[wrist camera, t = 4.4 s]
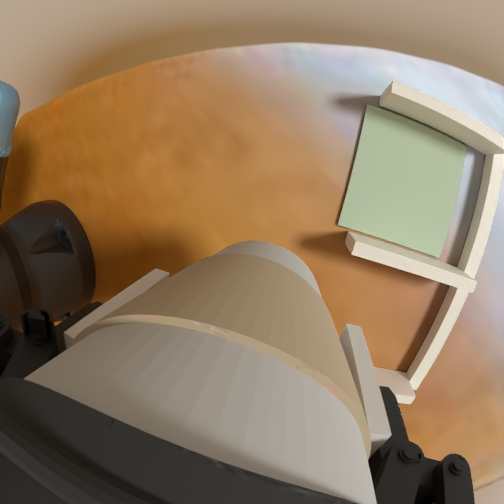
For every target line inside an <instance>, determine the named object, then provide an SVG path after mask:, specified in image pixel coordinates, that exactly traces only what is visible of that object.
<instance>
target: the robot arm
mask: <svg viewBox="0 0 504 504" xmlns="http://www.w3.org/2000/svg"><path fill="white" fill-rule="evenodd" d="M19 107H20V98H19V95H18V92H17V91H16V89H15V88H14V87H13V86H11V85H9V84H7V83H5V82H3V81H0V209H1V199H2V192H3V185H4V178H5V173H6V167H7V162H8V157H9V155H10V153H11V151H12V148H13V143H12V138H13V133H14V129H15V124H16V120H17V116H18V113H19ZM169 274H170V273H169V272H166V271H163V270H160V269H157V268H156V269H154V270H153V271H151V272H150V273H148V274H147V275H145V276H144V277H142V278H141V279H139V280H138V281H136V282H135V283H133V284H132V285H130V286H129V287H127V288H126V289H124V290H123V291H122V292H120V293H119V294H117V295H116V296H114V297H113V298H111V299H110V300H108V301H107V302H106V303H104V304H103V303H100V302H95V303H91V304H89V303H90V301H91V299H92V296H93V292H94V287H95V268H94V261H93V256H92V251H91V248H90V244H89V241H88V239H87V236H86V234H85V231H84V229H83V227H82V225H81V224H80V222H79V220H78V219H77V217H76V216H75V215H74V213H73V212H72V211H71V210H70V209H69V208H68V207H67V206H65V205H64V204H62V203H61V202H58V201H55V200H46V201H40V202H35V203H33V204H31V205H29V206H27V207H26V208H24V209H23V210H21V211H20V212H18V213H17V214H16V215H14V216H13V217H11V218H10V219H9V220H7V221H6V222H5V223H3V224H2V225H0V380H1V379H3V378H6V377H15V378H21V379H24V378H25V377H27V376H28V375H30V374H31V373H33V372H34V371H36V370H37V369H38V368H40V367H41V366H43V365H44V364H46V363H47V362H49V361H50V360H52V359H53V358H55V357H56V356H58V355H59V354H61V353H62V352H64V351H65V350H67V349H68V348H69V346H70V344H71V342H72V341H73V339H74V338H75V337H76V336H77V335H78V334H79V333H80V332H81V331H82V330H83V329H85V328H86V327H88V326H90V325H91V324H93V323H94V322H96V321H98V320H99V319H101V318H102V317H104V316H106V315H107V314H109V313H111V312H112V311H114V310H116V309H117V308H119V307H121V306H122V305H124V304H125V303H127V302H129V301H130V300H132V299H134V298H135V297H137V296H139V295H140V294H142V293H144V292H145V291H147V290H149V289H150V288H152V287H154V286H155V285H157V284H159V283H160V282H162V281H164V280H166V279H167V278H169ZM58 321H62V322H61V323H59V324H58V325H56V326H54V322H58ZM22 331H23V332H22ZM340 342H341V345H342V348H343V351H344V353H345V356H346V359H347V362H348V365H349V368H350V371H351V374H352V377H353V380H354V383H355V386H356V389H357V392H358V395H359V398H360V401H361V404H362V408H363V411H364V414H365V417H366V420H367V424H368V427H369V430H370V435H371V452H370V456H369V459H368V464H369V468H370V473H371V477H372V482H373V487H374V492H375V497H376V502H377V504H475V503H474V493H473V485H472V478H471V472H470V467H469V464H468V462H467V461H466V459H465V458H463V457H462V456H461V455H458V454H449V455H447V456H446V457H445V458H444V459H443V460H442V461H437V460H433V459H429V458H426V457H424V454H423V452H422V450H421V449H420V447H419V446H418V445H416V444H415V443H413V442H410V441H409V439H408V436H407V432H406V429H405V425H404V422H403V418H402V415H400V414H401V412H400V408H399V407H398V402H397V399H396V396H395V395H394V393H393V392H392V391H391V389H390V388H389V387H385V386H379V384H378V381H377V377H376V374H375V370H374V367H373V363H372V360H371V357H370V354H369V350H368V347H367V344H366V341H365V338H364V335H363V332H362V329H361V327H360V326H355V325H351V324H347V323H346V325H345V328H344V330H343V332H342V334H341V337H340Z"/></svg>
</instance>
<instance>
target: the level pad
mask: <svg viewBox="0 0 504 504" xmlns="http://www.w3.org/2000/svg"><path fill="white" fill-rule="evenodd" d="M466 150H467V146H465V145H463V144H461V143H459V142H457V141H455V140H453V139H451V138H449V137H447V136H445V135H443V134H441V133H439V132H437V131H435V130H433V129H430V128H428V127H426V126H424V125H421V124H419V123H417V122H414V121H412V120H410V119H407V118H405V117H402V116H400V115H397V114H394V113H392V112H389V111H386V110H384V109H381V108H378V107H375V106H372V105H369V104H367V106H366V111H365V116H364V121H363V126H362V130H361V135H360V139H359V144H358V148H357V153H356V157H355V161H354V165H353V169H352V173H351V177H350V181H349V185H348V189H347V192H346V196H345V200H344V204H343V207H342V211H341V214H340V218H339V221H338V225H340V226H343V227H346V228H350V229H353V230H356V231H359V232H363V233H366V234H369V235H372V236H375V237H378V238H381V239H385V240H388V241H391V242H394V243H397V244H400V245H403V246H406V247H409V248H412V249H415V250H417V251H420V252H423V253H426V254H429V255H432V256H435V257H437V258H439V257H440V254H441V251H442V248H443V245H444V242H445V239H446V235H447V232H448V229H449V226H450V222H451V219H452V215H453V211H454V207H455V204H456V200H457V195H458V191H459V187H460V182H461V177H462V172H463V167H464V162H465V156H466Z"/></svg>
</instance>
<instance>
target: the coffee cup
mask: <svg viewBox="0 0 504 504" xmlns="http://www.w3.org/2000/svg"><path fill="white" fill-rule="evenodd" d="M370 452H371V435H370V430H369V427H368V424H367V420H366V417H365V414H364V411H363V408H362V404H361V401H360V398H359V395H358V392H357V389H356V386H355V383H354V380H353V377H352V374H351V371H350V368H349V365H348V362H347V359H346V356H345V353H344V351H343V348H342V345H341V342H340V339H339V337H338V334H337V331H336V328H335V326H334V323H333V320H332V317H331V315H330V313H329V310H328V308H327V306H326V304H325V303H324V301H323V300H322V297H321V294H320V291H319V288H318V285H317V282H316V280H315V278H314V276H313V274H312V272H311V271H310V269H309V268H308V267H307V265H306V264H305V263H304V262H303V261H302V260H301V259H300V258H299V257H298V256H296V255H295V254H294V253H292V252H291V251H289V250H287V249H285V248H283V247H281V246H279V245H276V244H273V243H269V242H263V241H245V242H240V243H236V244H234V245H231V246H229V247H227V248H225V249H223V250H221V251H220V252H218V253H217V254H215V255H213V256H211V257H207V258H204V259H202V260H199V261H197V262H195V263H193V264H191V265H189V266H188V267H186V268H184V269H182V270H181V271H179V272H177V273H176V274H174V275H172V276H171V277H169V278H167V279H166V280H164V281H162V282H160V283H159V284H157V285H155V286H154V287H152V288H150V289H149V290H147V291H145V292H144V293H142V294H140V295H139V296H137V297H135V298H134V299H132V300H130V301H129V302H127V303H125V304H124V305H122V306H121V307H119V308H117V309H116V310H114V311H112V312H111V313H109V314H107V315H106V316H104V317H102V318H101V319H99V320H98V321H96V322H94V323H93V324H91V325H90V326H88V327H86V328H85V329H83V330H82V331H81V332H80V333H79V334H78V335H77V336H76V337H75V338H74V339H73V341H72V342H71V344H70V346H69V348H68V349H67V350H65V351H64V352H62V353H61V354H59V355H58V356H56V357H55V358H53V359H52V360H50V361H49V362H47V363H46V364H44V365H43V366H41V367H40V368H38V369H37V370H36V371H34V372H33V373H31V374H30V375H28V376H27V377H25V378H24V379H21V378H15V377H6V378H3V379H1V380H0V504H377V502H376V497H375V492H374V487H373V482H372V477H371V473H370V468H369V464H368V459H369V456H370Z"/></svg>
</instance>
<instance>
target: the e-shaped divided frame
mask: <svg viewBox="0 0 504 504" xmlns="http://www.w3.org/2000/svg"><path fill="white" fill-rule="evenodd" d="M379 106H381V107H384V108H386V109H389V110H392V111H394V112H397V113H400V114H402V115H405V116H407V117H410V118H412V119H414V120H417V121H419V122H421V123H424V124H426V125H428V126H430V127H433V128H435V129H437V130H439V131H441V132H443V133H445V134H447V135H449V136H451V137H453V138H455V139H457V140H459V141H461V142H463V143H465V144H467V145H468V146H470V147H472V148H474V149H476V150H477V151H479V152H481V153H483V154H484V155H485V162H484V168H483V174H482V179H481V184H480V189H479V194H478V198H477V202H476V207H475V211H474V214H473V218H472V222H471V225H470V229H469V232H468V236H467V239H466V242H465V245H464V248H463V251H462V254H461V257H460V260H459V263H458V266H457V267H455V266H452V265H449V264H447V263H444V262H441V261H438V260H435V259H433V258H430V257H427V256H424V255H421V254H418V253H415V252H412V251H409V250H406V249H403V248H400V247H397V246H394V245H391V244H388V243H385V242H382V241H379V240H376V239H373V238H369V237H366V236H363V235H360V234H357V233H353V232H350V231H348V233H347V236H346V239H345V244H346V246H347V248H348V249H349V251H350V253H351V255H354V256H358V257H361V258H364V259H368V260H371V261H374V262H378V263H381V264H384V265H387V266H391V267H394V268H397V269H400V270H403V271H407V272H410V273H413V274H416V275H419V276H422V277H426V278H429V279H432V280H435V281H438V282H441V283H444V284H447V285H450V286H449V289H448V291H447V294H446V296H445V298H444V301H443V303H442V305H441V307H440V310H439V312H438V314H437V316H436V318H435V320H434V322H433V324H432V327H431V329H430V331H429V333H428V334H427V336H426V338H425V340H424V342H423V344H422V346H421V348H420V350H419V351H418V353H417V355H416V357H415V359H414V360H413V362H412V364H411V365H410V367H409V369H408V371H407V372H400V371H394V370H389V369H384V368H379V367H374V366H373V367H374V370H375V374H376V377H377V381H378V384H379V386H385V387H389V388H390V389H391V391H392V392H393V393H394V395H395V396H396V399H397V402H398V403H405V404H411V403H412V401H413V400H414V398H415V397H416V396H415V394H414V391H413V390H416V389H417V388H418V386H419V385H420V383H421V382H422V380H423V379H424V377H425V375H426V374H427V372H428V371H429V369H430V367H431V366H432V364H433V362H434V361H435V359H436V357H437V355H438V354H439V352H440V350H441V348H442V347H443V345H444V343H445V341H446V339H447V337H448V335H449V333H450V331H451V330H452V328H453V326H454V323H455V321H456V319H457V317H458V315H459V313H460V311H461V309H462V306H463V304H464V302H465V300H466V297H467V295H468V293H469V292H471V293H473V291H474V289H475V286H476V284H477V281H476V280H474V278H475V275H476V272H477V270H478V267H479V264H480V261H481V258H482V255H483V252H484V249H485V246H486V243H487V240H488V236H489V233H490V229H491V226H492V222H493V218H494V214H495V210H496V206H497V201H498V196H499V192H500V186H501V181H502V175H503V169H504V138H503V137H502V136H500V135H499V134H497V133H496V132H494V131H493V130H491V129H490V128H488V127H487V126H485V125H483V124H482V123H480V122H478V121H477V120H475V119H473V118H472V117H470V116H468V115H466V114H464V113H463V112H461V111H459V110H457V109H455V108H453V107H451V106H449V105H447V104H445V103H443V102H441V101H439V100H437V99H435V98H433V97H431V96H429V95H427V94H424V93H422V92H420V91H418V90H415V89H413V88H410V87H408V86H406V85H403V84H400V83H398V82H395V81H392V82H391V84H390V85H389V86H388V87H387V88H386V90H385V91H384V92H383V93H382V94H381V95H380V101H379Z"/></svg>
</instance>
